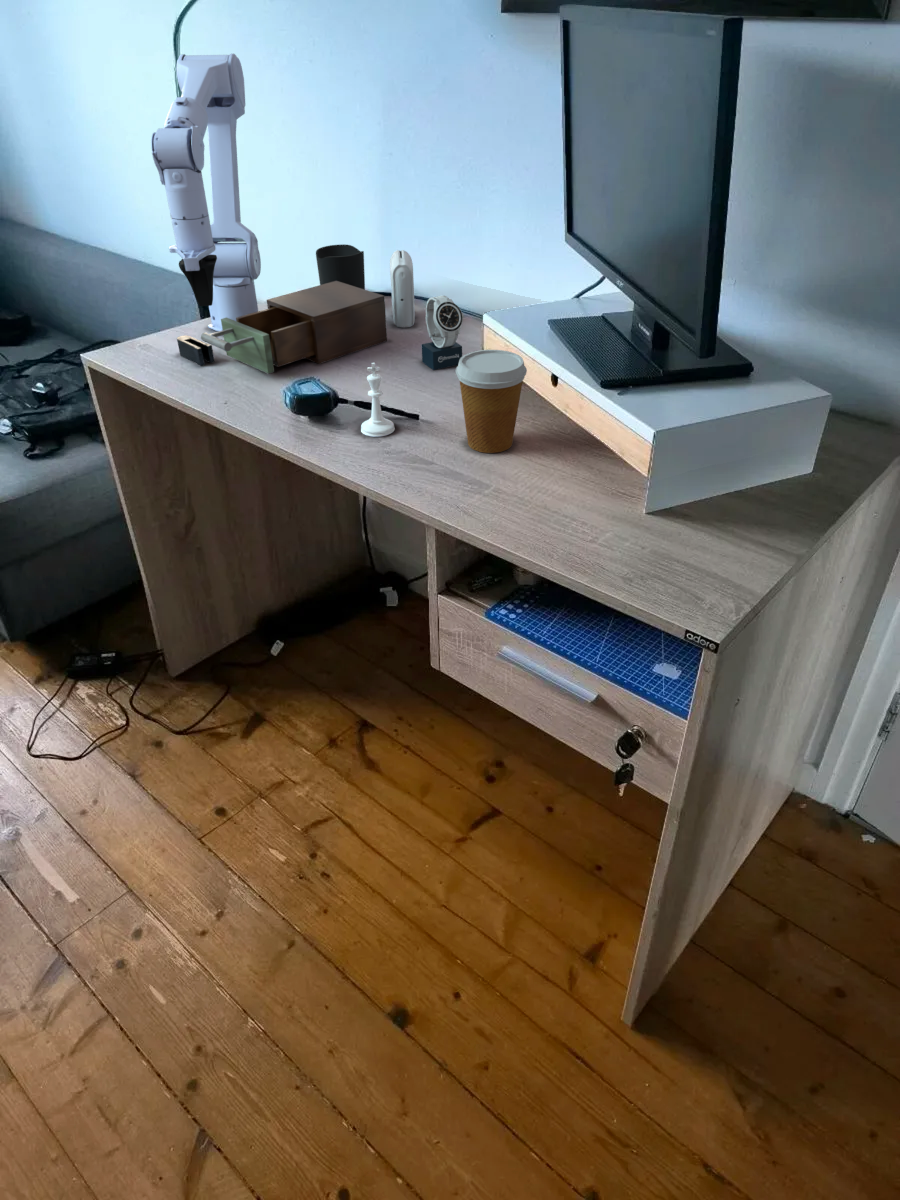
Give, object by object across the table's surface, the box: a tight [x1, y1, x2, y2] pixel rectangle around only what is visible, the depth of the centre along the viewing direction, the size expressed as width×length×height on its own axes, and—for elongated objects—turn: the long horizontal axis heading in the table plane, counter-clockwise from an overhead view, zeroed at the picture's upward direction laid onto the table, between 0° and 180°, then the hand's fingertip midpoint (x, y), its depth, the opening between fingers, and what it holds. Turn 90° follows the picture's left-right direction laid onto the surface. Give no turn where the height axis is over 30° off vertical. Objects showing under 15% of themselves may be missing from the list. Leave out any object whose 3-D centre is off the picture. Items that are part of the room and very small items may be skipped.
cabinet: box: [266, 281, 388, 364], centre depth 152 cm, size 16×14×8 cm
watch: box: [421, 295, 465, 371], centre depth 142 cm, size 6×8×11 cm
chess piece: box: [360, 362, 396, 438], centre depth 122 cm, size 5×5×10 cm
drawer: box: [200, 307, 315, 375], centre depth 145 cm, size 20×12×6 cm, turn 135°
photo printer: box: [389, 249, 416, 328], centre depth 161 cm, size 10×4×12 cm, turn 4°
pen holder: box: [315, 243, 366, 290], centre depth 171 cm, size 9×9×10 cm
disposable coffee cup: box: [455, 349, 528, 454], centre depth 117 cm, size 10×10×12 cm
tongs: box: [176, 335, 215, 367], centre depth 148 cm, size 8×3×3 cm, turn 45°
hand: (205, 304), depth 140 cm, fingers closed
